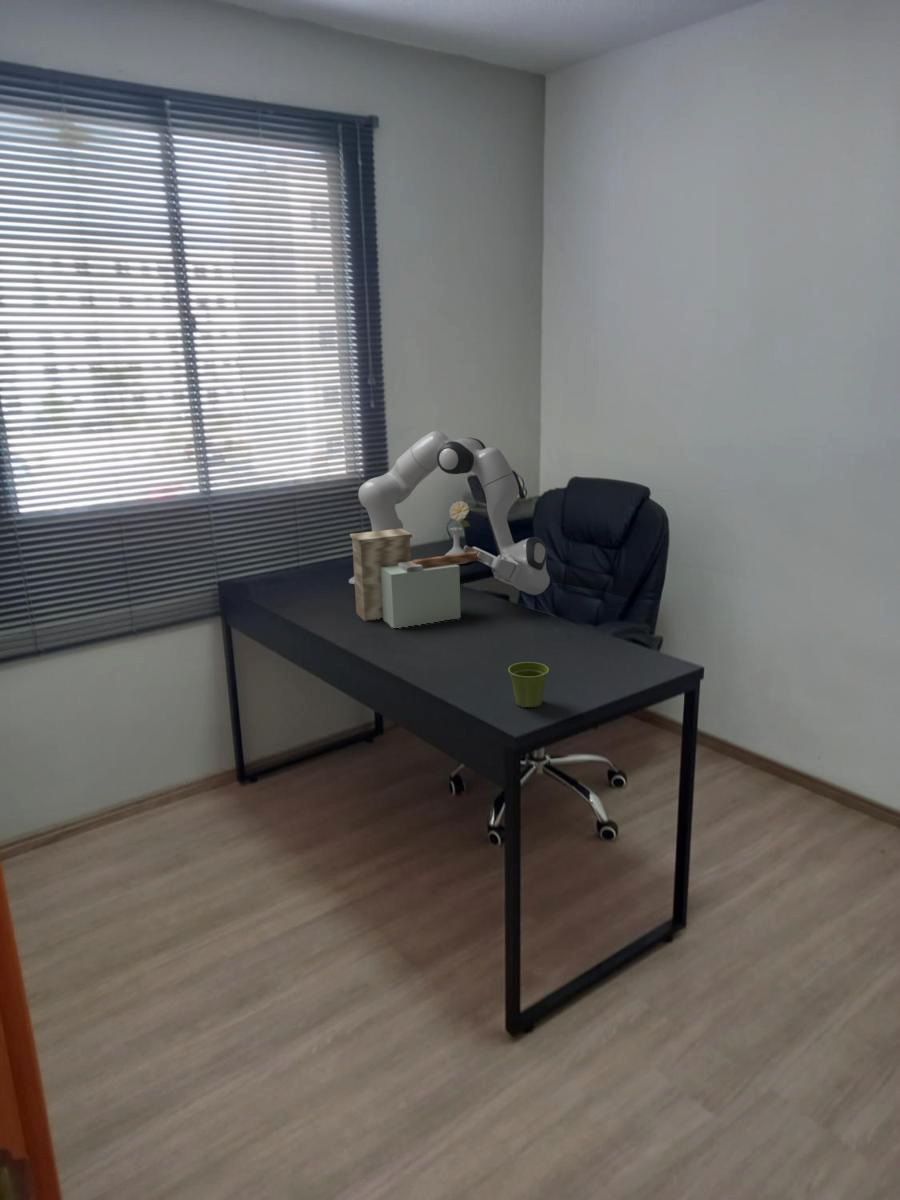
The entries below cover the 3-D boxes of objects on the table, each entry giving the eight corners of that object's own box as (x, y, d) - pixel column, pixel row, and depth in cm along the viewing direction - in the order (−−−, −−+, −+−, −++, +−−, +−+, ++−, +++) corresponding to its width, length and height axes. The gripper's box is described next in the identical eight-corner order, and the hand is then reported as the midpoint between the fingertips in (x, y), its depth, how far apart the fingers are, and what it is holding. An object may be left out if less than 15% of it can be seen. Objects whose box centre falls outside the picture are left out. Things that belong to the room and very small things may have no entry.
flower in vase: (436, 563, 329) (434, 500, 322) (457, 558, 336) (456, 496, 329) (459, 568, 320) (457, 504, 312) (480, 563, 327) (479, 500, 320)
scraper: (475, 556, 266) (475, 549, 265) (486, 561, 260) (486, 553, 259) (397, 567, 254) (397, 560, 254) (407, 572, 248) (406, 565, 248)
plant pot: (532, 715, 190) (533, 679, 187) (500, 704, 196) (500, 670, 193) (556, 702, 197) (556, 667, 194) (524, 692, 203) (524, 659, 200)
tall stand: (404, 606, 274) (401, 528, 267) (415, 614, 265) (411, 534, 258) (354, 613, 268) (349, 533, 260) (363, 621, 259) (359, 540, 252)
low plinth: (448, 610, 268) (446, 559, 264) (460, 618, 259) (459, 565, 255) (383, 620, 260) (380, 567, 255) (393, 629, 251) (391, 574, 247)
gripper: (495, 552, 276) (462, 535, 270) (524, 565, 258) (489, 548, 251) (487, 569, 276) (453, 553, 270) (515, 584, 258) (480, 566, 252)
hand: (471, 550), depth 260 cm, fingers open, 8 cm apart
